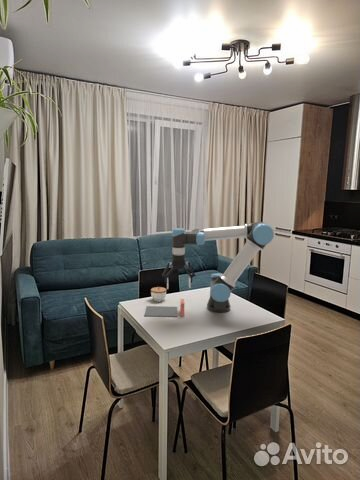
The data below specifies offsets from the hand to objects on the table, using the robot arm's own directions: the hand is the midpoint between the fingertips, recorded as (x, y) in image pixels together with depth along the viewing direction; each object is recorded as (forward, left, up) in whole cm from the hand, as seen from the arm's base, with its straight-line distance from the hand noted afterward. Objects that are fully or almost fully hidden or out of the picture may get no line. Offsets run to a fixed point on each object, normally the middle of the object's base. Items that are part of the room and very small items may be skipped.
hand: (178, 288), depth 199 cm
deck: (-3, -1, -17) cm, 17 cm away
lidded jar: (+13, -25, -17) cm, 33 cm away
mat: (+10, -3, -16) cm, 20 cm away
